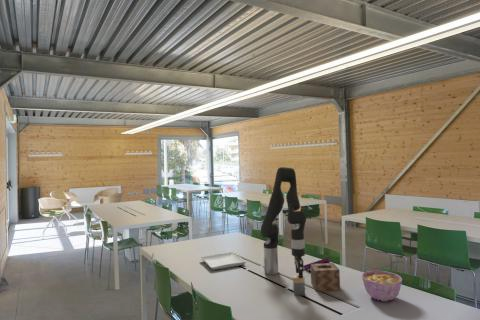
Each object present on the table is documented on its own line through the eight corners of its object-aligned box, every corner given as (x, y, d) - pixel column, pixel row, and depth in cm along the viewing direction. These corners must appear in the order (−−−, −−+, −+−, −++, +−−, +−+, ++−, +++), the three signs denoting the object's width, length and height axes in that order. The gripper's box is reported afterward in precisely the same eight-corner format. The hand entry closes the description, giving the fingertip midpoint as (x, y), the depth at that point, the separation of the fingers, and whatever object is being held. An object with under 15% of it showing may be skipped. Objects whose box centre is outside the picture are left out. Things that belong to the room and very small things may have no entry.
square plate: (211, 272, 230) (211, 267, 230) (199, 261, 255) (199, 256, 255) (247, 266, 241) (246, 260, 241) (232, 256, 266) (232, 251, 266)
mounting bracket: (305, 279, 227) (324, 273, 214) (300, 266, 230) (319, 260, 217) (313, 275, 233) (333, 270, 220) (309, 263, 235) (328, 257, 223)
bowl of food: (391, 289, 190) (390, 269, 189) (410, 305, 170) (409, 282, 169) (356, 291, 189) (356, 271, 189) (371, 307, 169) (371, 284, 169)
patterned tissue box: (315, 291, 191) (315, 270, 191) (311, 283, 203) (310, 263, 203) (340, 290, 191) (339, 269, 191) (334, 282, 203) (333, 263, 203)
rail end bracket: (294, 295, 186) (293, 277, 186) (293, 293, 189) (293, 276, 189) (305, 295, 186) (304, 277, 186) (304, 293, 189) (303, 275, 189)
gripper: (289, 243, 195) (290, 271, 195) (293, 250, 181) (295, 280, 181) (302, 243, 195) (303, 270, 195) (307, 249, 181) (308, 279, 181)
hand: (299, 275), depth 188 cm, fingers open, 8 cm apart
